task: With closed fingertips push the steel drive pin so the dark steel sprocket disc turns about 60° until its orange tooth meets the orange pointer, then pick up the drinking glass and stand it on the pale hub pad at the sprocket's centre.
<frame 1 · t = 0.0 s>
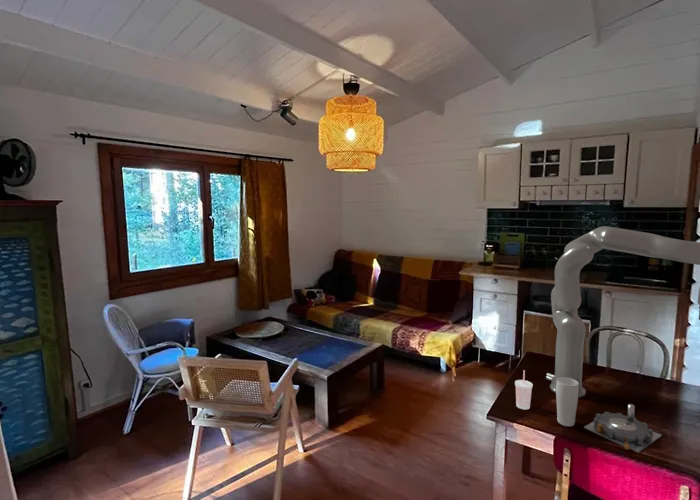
beverage cup: (522, 406, 147), on the table
sprocket: (622, 419, 129), point 4 cm above the table, hinge at 0.0°
drinking glass: (565, 423, 135), on the table
base plate: (622, 432, 129), on the table
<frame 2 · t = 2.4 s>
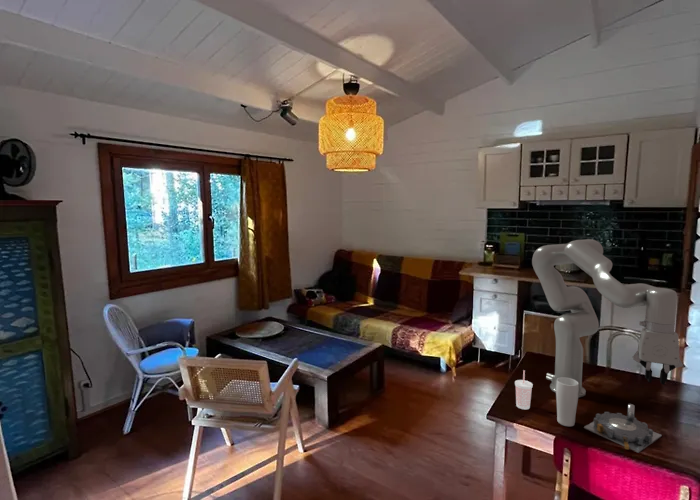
hand: (655, 381, 127), 17 cm above the table, tool pointing down, fingers closed
nothing on the table moved.
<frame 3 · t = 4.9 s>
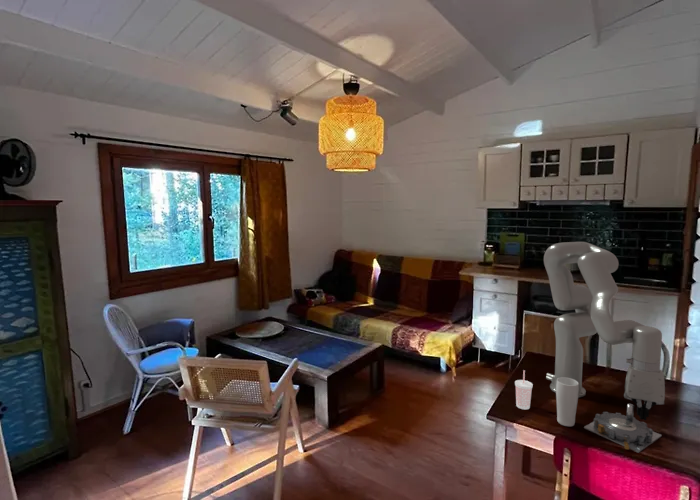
hand: (642, 417, 130), 4 cm above the table, tool pointing down, fingers closed
sprocket: (622, 419, 129), point 4 cm above the table, hinge at 2.4°, touching gripper
everything else where it was.
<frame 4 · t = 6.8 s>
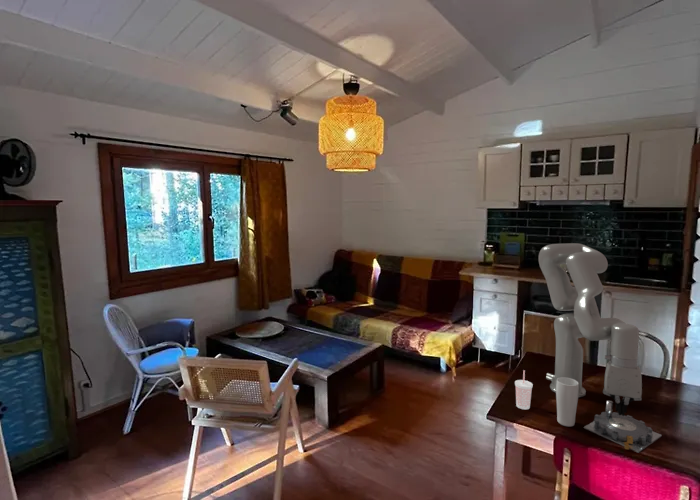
hand: (620, 413, 132), 4 cm above the table, tool pointing down, fingers closed
sprocket: (622, 419, 129), point 4 cm above the table, hinge at 68.5°
everything else where it was.
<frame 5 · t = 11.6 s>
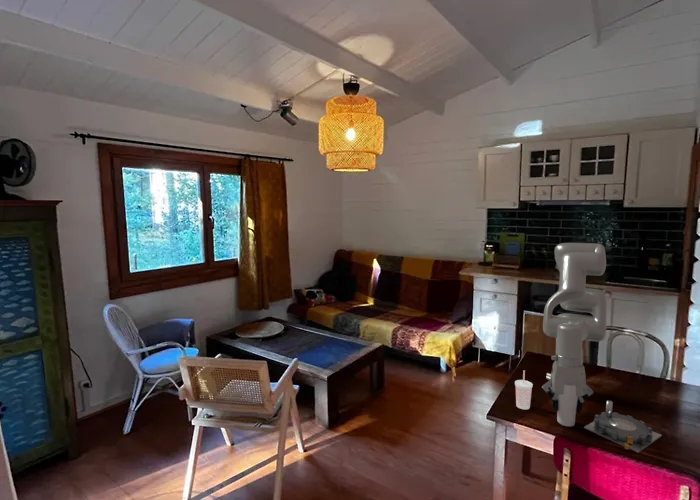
hand: (566, 410, 134), 5 cm above the table, tool pointing down, fingers closed on drinking glass, 6 cm apart
drinking glass: (565, 423, 135), on the table, touching gripper
everything else where it was.
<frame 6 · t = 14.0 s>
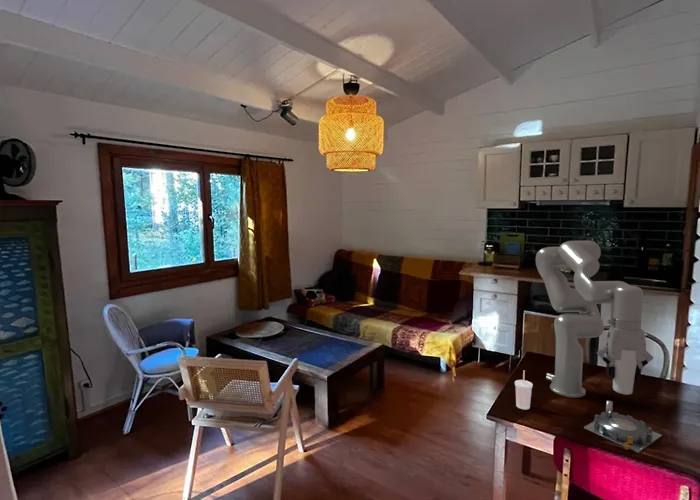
hand: (623, 377, 127), 19 cm above the table, tool pointing down, fingers closed on drinking glass, 6 cm apart
drinking glass: (622, 392, 128), point 14 cm above the table, touching gripper
everything else where it was.
when the fingers open (9 cm above the table, at t = 16.4 s): drinking glass drops 1 cm, resting on sprocket.
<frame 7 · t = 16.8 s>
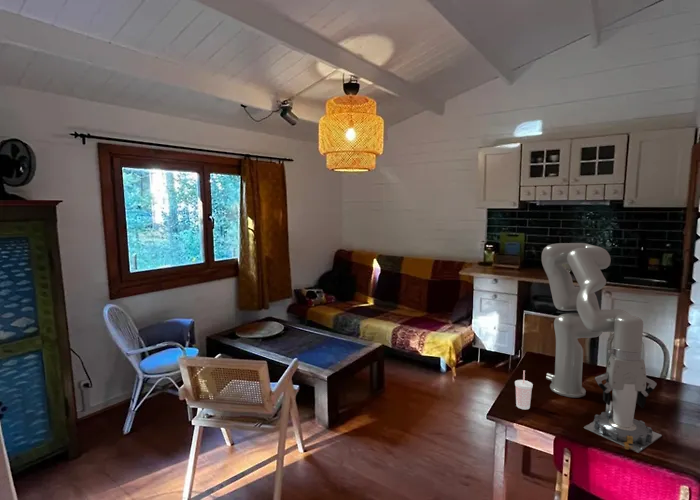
hand: (623, 404, 128), 9 cm above the table, tool pointing down, fingers open, 9 cm apart
sprocket: (622, 419, 129), point 4 cm above the table, hinge at 68.5°, touching drinking glass
drinking glass: (622, 424, 129), point 3 cm above the table, touching sprocket
everything else where it was.
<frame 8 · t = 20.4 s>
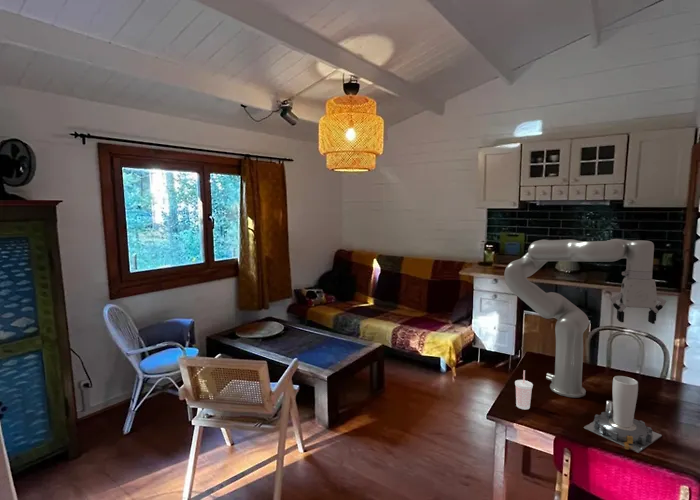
hand: (635, 322, 141), 32 cm above the table, tool pointing down, fingers open, 9 cm apart
nothing on the table moved.
at the end: sprocket at +68° (first picture: +0°); drinking glass 0.2 cm off-centre on the sprocket, point 2.6 cm above the sprocket's base; drinking glass tilted 0° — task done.
